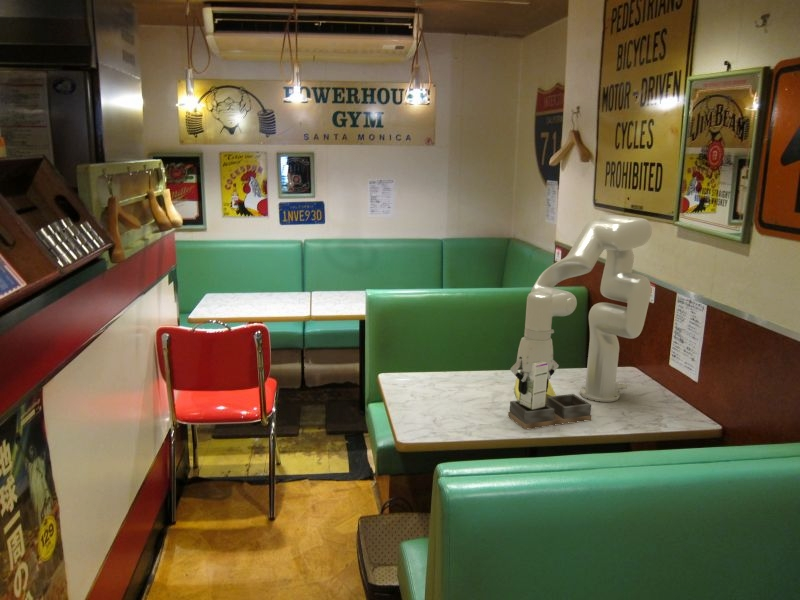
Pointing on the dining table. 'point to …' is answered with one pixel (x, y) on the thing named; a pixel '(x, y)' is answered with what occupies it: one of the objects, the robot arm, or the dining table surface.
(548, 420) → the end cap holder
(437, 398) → the dining table surface
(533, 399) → the syrup box
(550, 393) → the plastic component
